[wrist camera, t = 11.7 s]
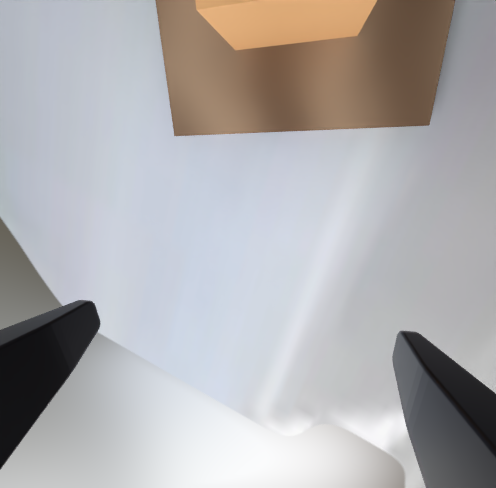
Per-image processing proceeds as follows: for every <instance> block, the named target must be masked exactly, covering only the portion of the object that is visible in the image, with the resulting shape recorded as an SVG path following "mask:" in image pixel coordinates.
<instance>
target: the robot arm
mask: <svg viewBox="0 0 496 488" xmlns="http://www.w3.org/2000/svg"><path fill="white" fill-rule="evenodd" d="M99 327H100V319H99V316H98V313H97V310H96V306H95V304H94V303H93V302H92V301H87V300H78V301H75V302H73V303H70V304H67V305H65V306H62V307H59V308H57V309H54V310H52V311H49V312H46V313H44V314H41V315H39V316H36V317H33V318H31V319H28V320H25V321H23V322H20V323H17V324H15V325H12V326H9V327H7V328H4V329H2V330H0V469H1V468H2V467H3V465H4V464H5V463H6V461H7V460H8V458H9V457H10V456H11V454H12V453H13V452H14V450H15V449H16V447H17V446H18V445H19V444H20V442H21V441H22V439H23V438H24V437H25V435H26V434H27V433H28V431H29V430H30V429H31V427H32V426H33V425H34V423H35V422H36V420H37V419H38V418H39V416H40V415H41V414H42V412H43V411H44V410H45V408H46V407H47V406H48V404H49V403H50V402H51V400H52V399H53V398H54V396H55V395H56V394H57V392H58V391H59V390H60V388H61V387H62V385H63V384H64V383H65V381H66V380H67V379H68V377H69V376H70V374H71V372H72V371H73V370H74V368H75V367H76V365H77V364H78V362H79V360H80V359H81V357H82V355H83V354H84V352H85V351H86V349H87V347H88V346H89V344H90V343H91V341H92V339H93V338H94V336H95V335H96V333H97V331H98V330H99ZM393 366H394V371H395V376H396V380H397V385H398V390H399V395H400V399H401V404H402V409H403V413H404V418H405V422H406V426H407V430H408V433H409V437H410V440H411V443H412V446H413V449H414V452H415V455H416V458H417V461H418V464H419V467H420V471H421V474H422V477H423V480H424V483H425V486H426V488H496V394H495V393H494V392H493V391H492V390H490V389H489V388H488V387H487V386H485V385H484V384H483V383H482V382H480V381H479V380H478V379H476V378H475V377H474V376H473V375H471V374H470V373H469V372H468V371H466V370H465V369H464V368H462V367H461V366H460V365H459V364H457V363H456V362H455V361H454V360H452V359H451V358H450V357H448V356H447V355H446V354H445V353H443V352H442V351H441V350H440V349H438V348H437V347H436V346H434V345H433V344H432V343H431V342H429V341H428V340H427V339H426V338H424V337H423V336H422V335H421V334H419V333H417V332H411V331H400V332H399V333H398V335H397V339H396V343H395V347H394V352H393Z"/></svg>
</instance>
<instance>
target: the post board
mask: <svg viewBox="0 0 496 488" xmlns="http://www.w3.org/2000/svg"><path fill="white" fill-rule="evenodd" d="M454 4H455V0H377V2H376V4H375V5H374V7H373V9H372V11H371V12H370V14H369V16H368V18H367V20H366V21H365V23H364V25H363V27H362V29H361V30H360V32H359V34H358V36H353V37H345V38H336V39H328V40H319V41H311V42H302V43H294V44H285V45H277V46H269V47H260V48H252V49H243V50H235V49H234V48H233V47H232V46H231V45H230V44H229V43H228V42H227V41H226V40H225V39H224V38H223V37H222V36H221V35H220V34H219V33H218V32H217V31H216V30H215V29H214V28H213V27H212V26H211V25H210V24H209V23H208V21H207V20H206V19H205V18H204V17H203V16H202V15H201V14H200V13H199V12H198V11H197V10H196V2H195V0H156V7H157V14H158V21H159V28H160V35H161V43H162V50H163V57H164V64H165V71H166V78H167V85H168V93H169V100H170V107H171V114H172V121H173V128H174V135H175V136H188V135H212V134H235V133H259V132H283V131H307V130H331V129H355V128H379V127H402V126H426V125H429V124H430V119H431V115H432V110H433V105H434V100H435V95H436V90H437V86H438V81H439V76H440V71H441V66H442V62H443V57H444V52H445V47H446V42H447V37H448V33H449V28H450V23H451V18H452V13H453V9H454Z"/></svg>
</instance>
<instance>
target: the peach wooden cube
mask: <svg viewBox="0 0 496 488" xmlns="http://www.w3.org/2000/svg"><path fill="white" fill-rule="evenodd" d="M195 2H196V10H197V11H198V12H199V13H200V14H201V15H202V16H203V17H204V18H205V19H206V20H207V21H208V23H209V24H210V25H211V26H212V27H213V28H214V29H215V30H216V31H217V32H218V33H219V34H220V35H221V36H222V37H223V38H224V39H225V40H226V41H227V42H228V43H229V44H230V45H231V46H232V47H233V48H234V49H235V50H243V49H252V48H260V47H269V46H277V45H285V44H294V43H302V42H311V41H319V40H328V39H336V38H345V37H353V36H358V34H359V32H360V30H361V29H362V27H363V25H364V23H365V21H366V20H367V18H368V16H369V14H370V12H371V11H372V9H373V7H374V5H375V4H376V2H377V0H195Z"/></svg>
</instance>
